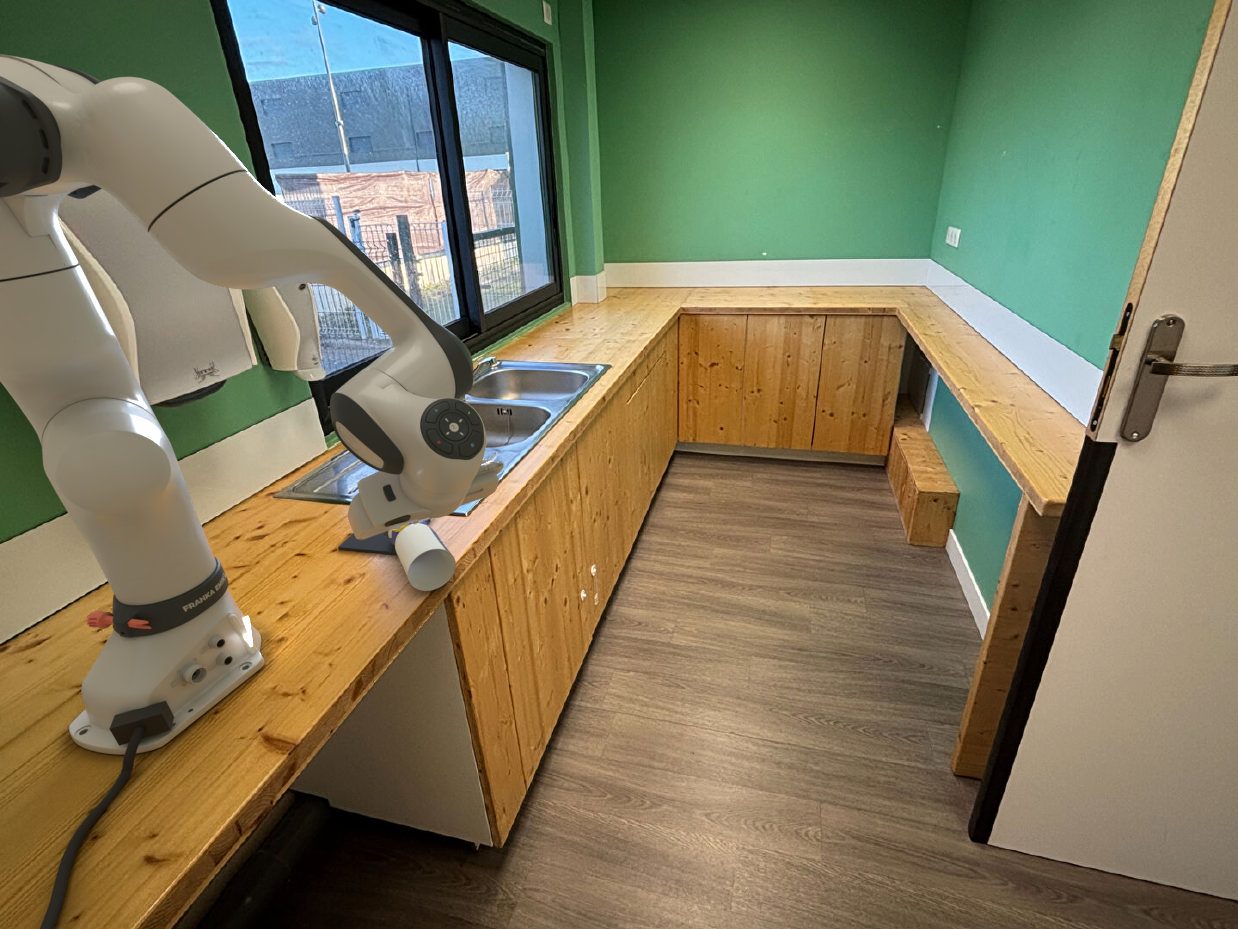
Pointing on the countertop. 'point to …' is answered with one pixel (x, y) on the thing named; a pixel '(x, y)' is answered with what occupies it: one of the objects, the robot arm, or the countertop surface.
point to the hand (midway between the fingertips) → (421, 516)
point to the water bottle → (422, 555)
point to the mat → (370, 544)
